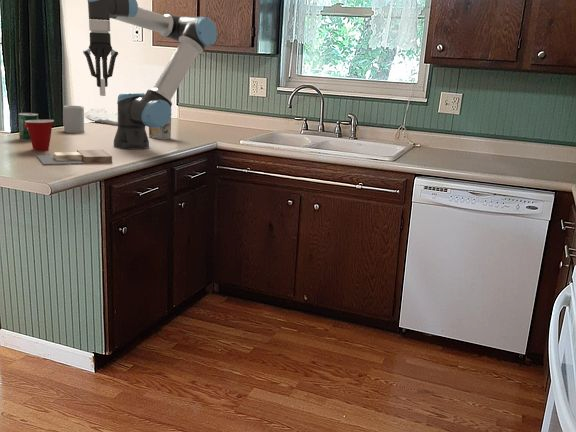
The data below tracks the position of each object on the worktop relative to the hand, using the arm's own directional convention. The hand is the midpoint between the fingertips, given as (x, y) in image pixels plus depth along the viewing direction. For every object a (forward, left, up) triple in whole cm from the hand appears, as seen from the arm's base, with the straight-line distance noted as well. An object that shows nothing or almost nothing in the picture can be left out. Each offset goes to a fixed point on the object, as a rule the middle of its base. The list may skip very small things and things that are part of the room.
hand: (102, 95), depth 233 cm
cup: (-1, -63, -24) cm, 67 cm away
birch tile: (+15, +7, -23) cm, 29 cm away
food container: (-24, -92, -24) cm, 98 cm away
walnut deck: (+5, +7, -24) cm, 25 cm away
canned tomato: (+22, -41, -24) cm, 52 cm away
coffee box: (-37, -42, -24) cm, 61 cm away
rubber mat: (+18, +7, -24) cm, 31 cm away
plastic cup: (+21, -16, -24) cm, 36 cm away
